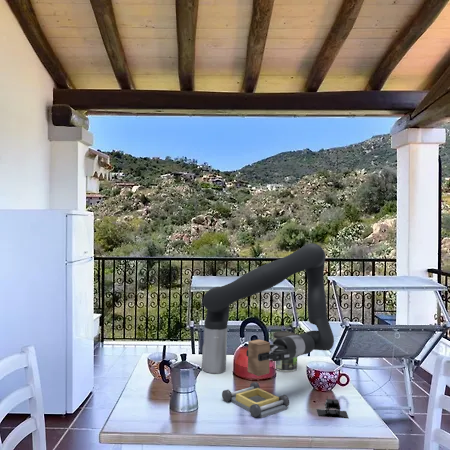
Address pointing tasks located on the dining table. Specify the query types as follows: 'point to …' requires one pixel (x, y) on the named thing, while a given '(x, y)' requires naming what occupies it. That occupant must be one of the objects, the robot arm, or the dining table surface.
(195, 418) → the dining table surface
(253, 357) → the brown wooden block
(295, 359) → the coffee can
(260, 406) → the chassis
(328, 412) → the black angular machine part
